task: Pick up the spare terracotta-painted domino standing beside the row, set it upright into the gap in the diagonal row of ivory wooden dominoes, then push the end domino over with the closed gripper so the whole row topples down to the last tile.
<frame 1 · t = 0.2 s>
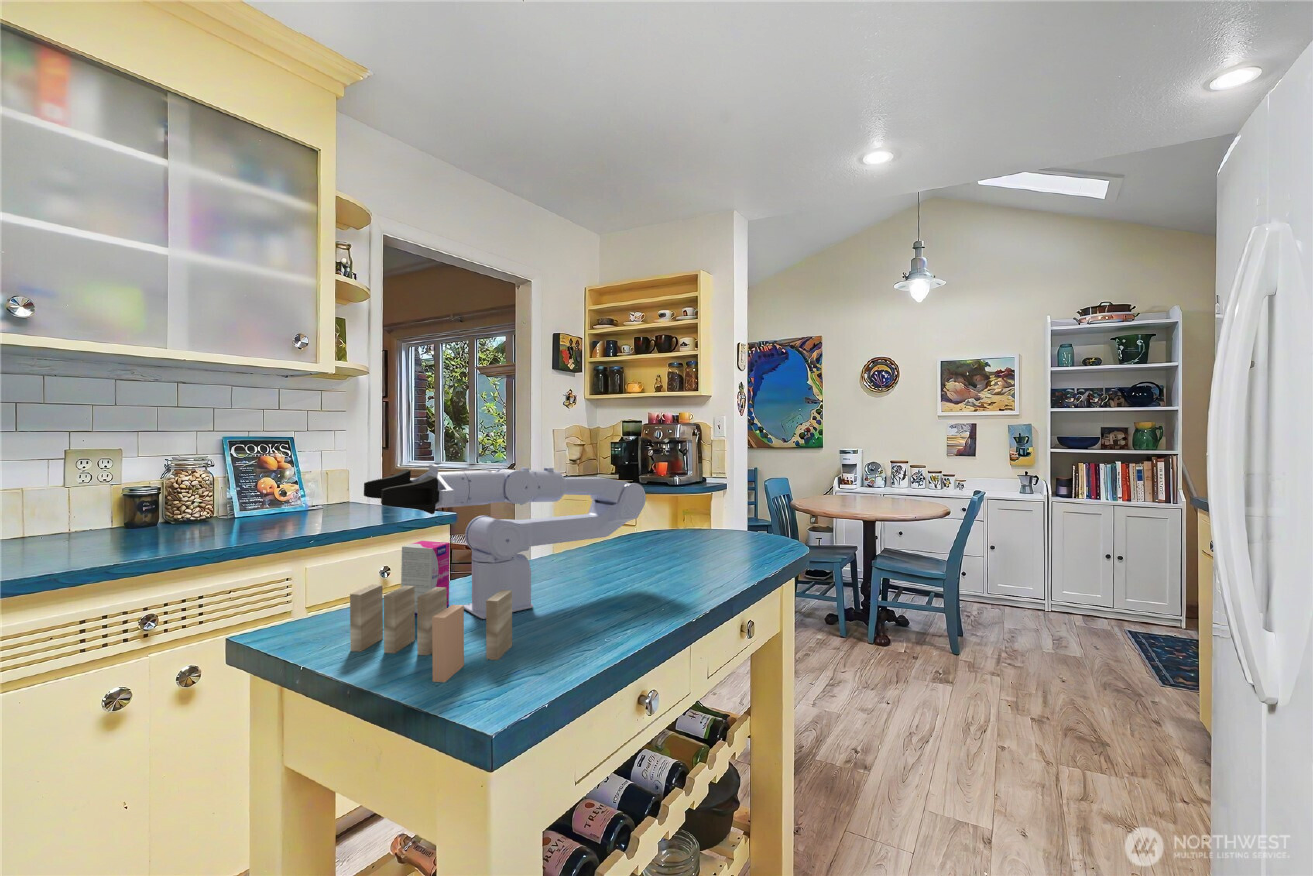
hand: (372, 493, 86), 22 cm above the table, tool horizontal, fingers open, 7 cm apart
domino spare: (448, 673, 74), on the table
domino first: (367, 644, 84), on the table
domino 2: (432, 648, 82), on the table
domino 3: (399, 646, 83), on the table
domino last: (499, 652, 81), on the table
supplement box: (425, 612, 99), on the table
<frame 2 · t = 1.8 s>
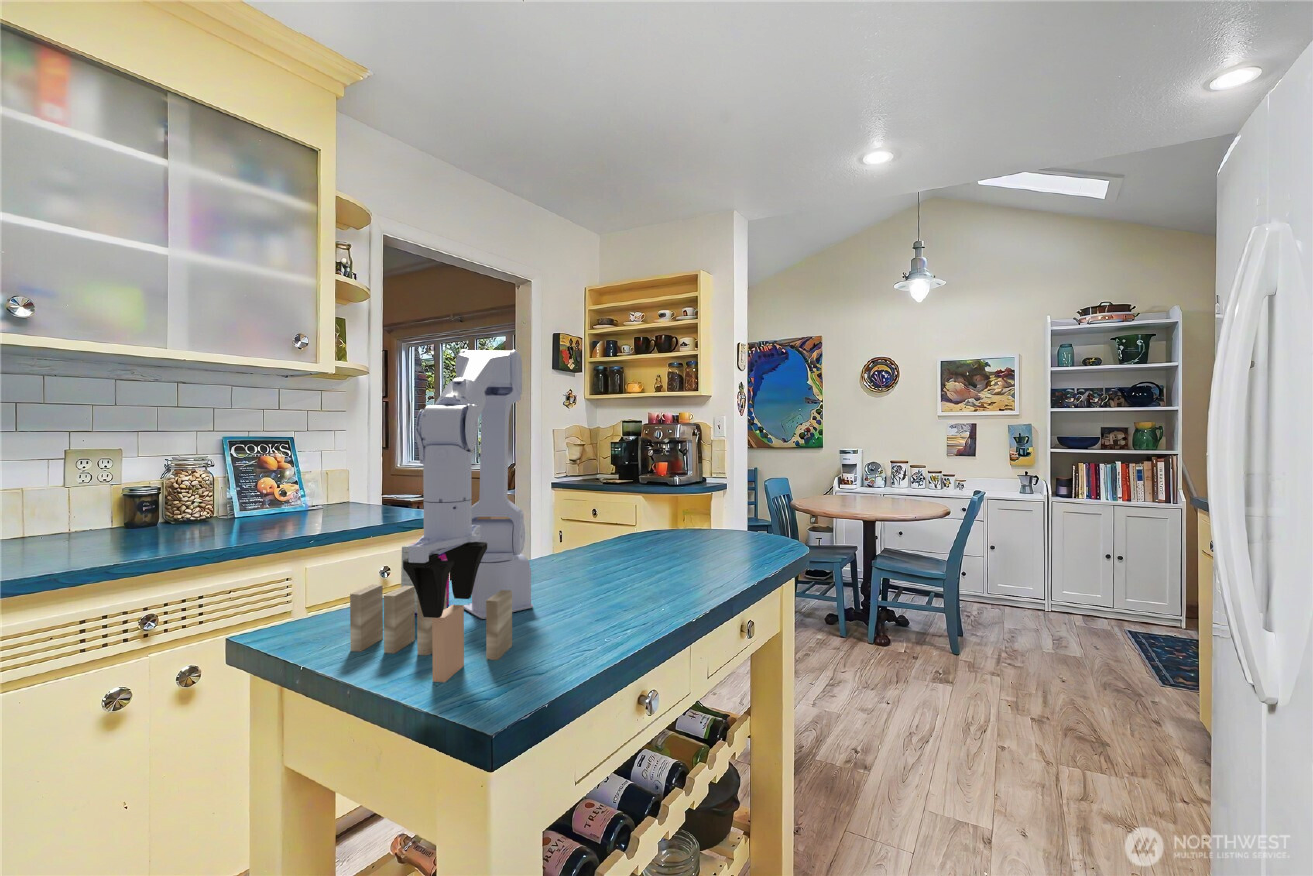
hand: (448, 607, 74), 8 cm above the table, tool pointing down, fingers open, 7 cm apart
nothing on the table moved.
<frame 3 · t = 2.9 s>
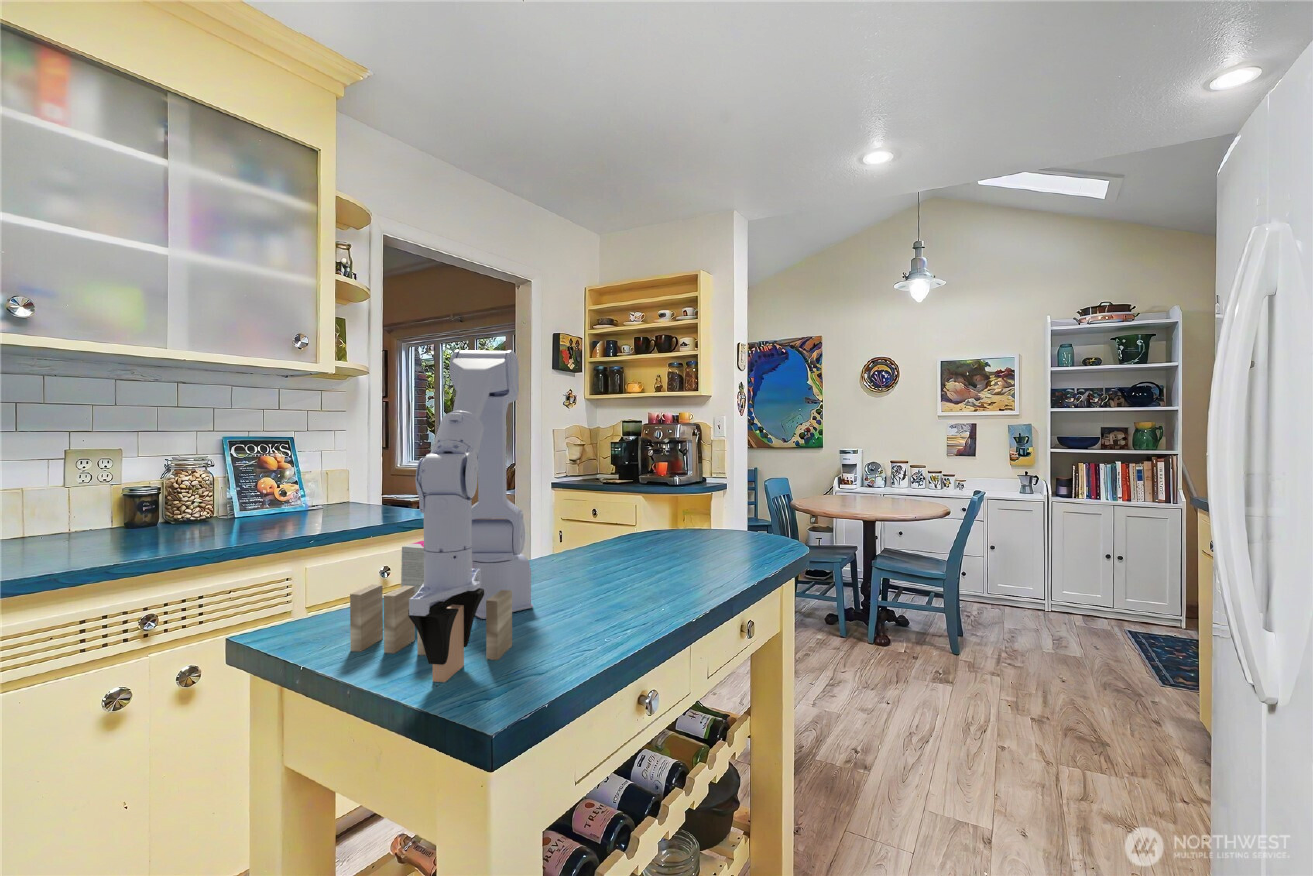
hand: (448, 654, 74), 2 cm above the table, tool pointing down, fingers closed on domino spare, 5 cm apart
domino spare: (448, 673, 74), on the table, touching gripper
everything else where it was.
when the fingers open (3 cm above the table, at t = 6.2 s): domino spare stays where it is, on the table.
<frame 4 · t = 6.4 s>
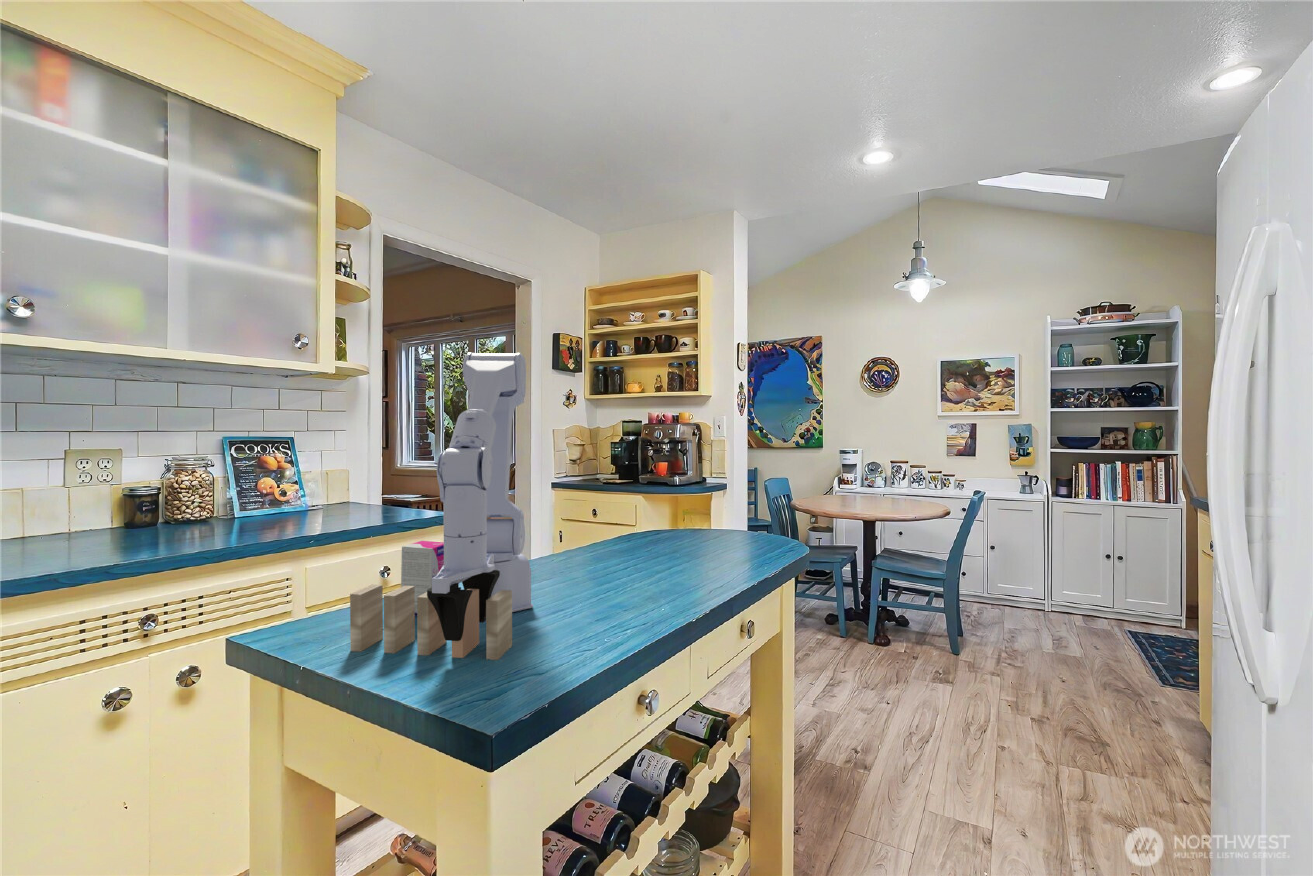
hand: (465, 630, 81), 3 cm above the table, tool pointing down, fingers open, 7 cm apart
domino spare: (465, 650, 81), on the table
everything else where it was.
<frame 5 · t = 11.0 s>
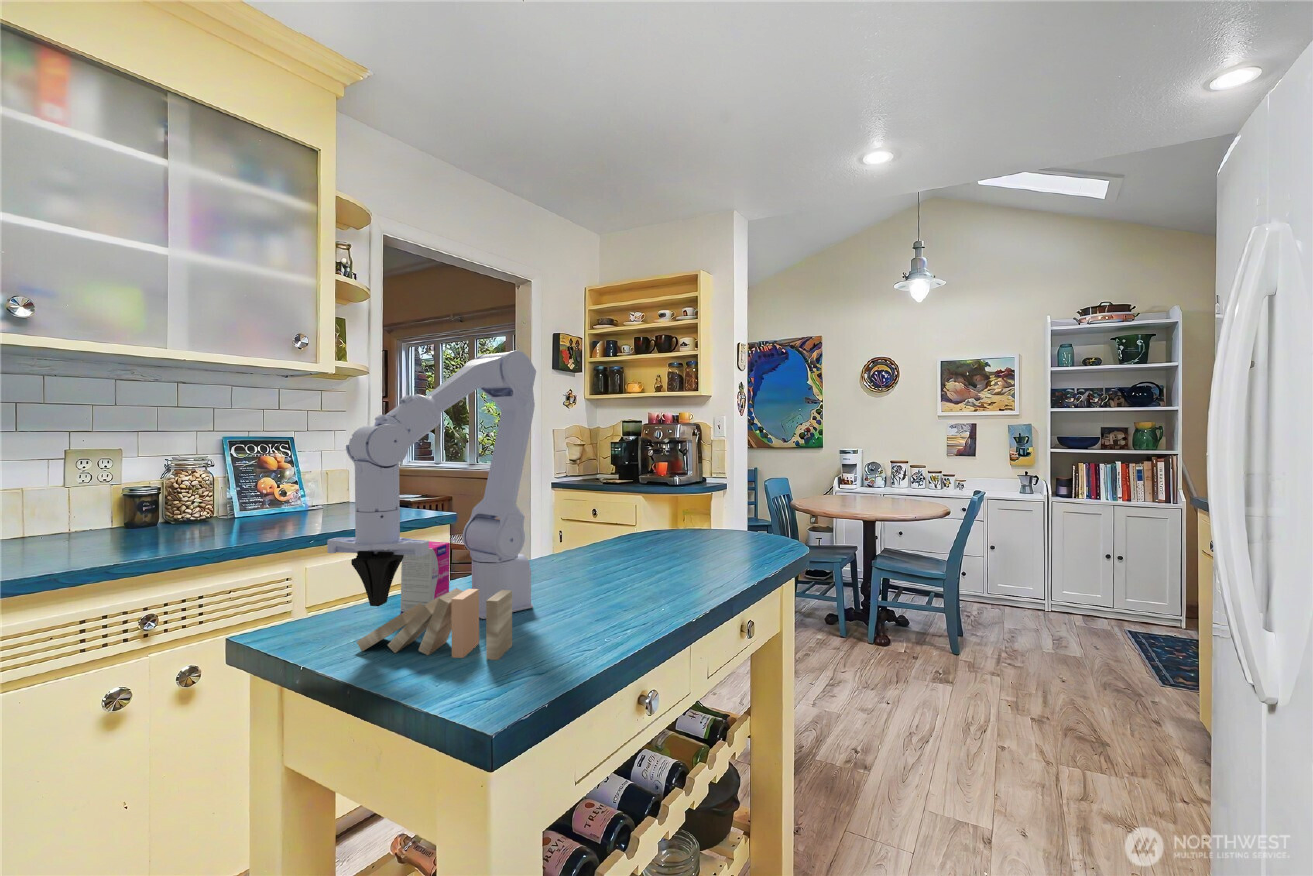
hand: (378, 604, 83), 6 cm above the table, tool pointing down, fingers closed
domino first: (370, 640, 83), point 1 cm above the table, tilted 58°, touching domino 3
domino 2: (432, 646, 82), on the table, tilted 22°
domino 3: (401, 642, 83), point 1 cm above the table, tilted 44°, touching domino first
everything else where it was.
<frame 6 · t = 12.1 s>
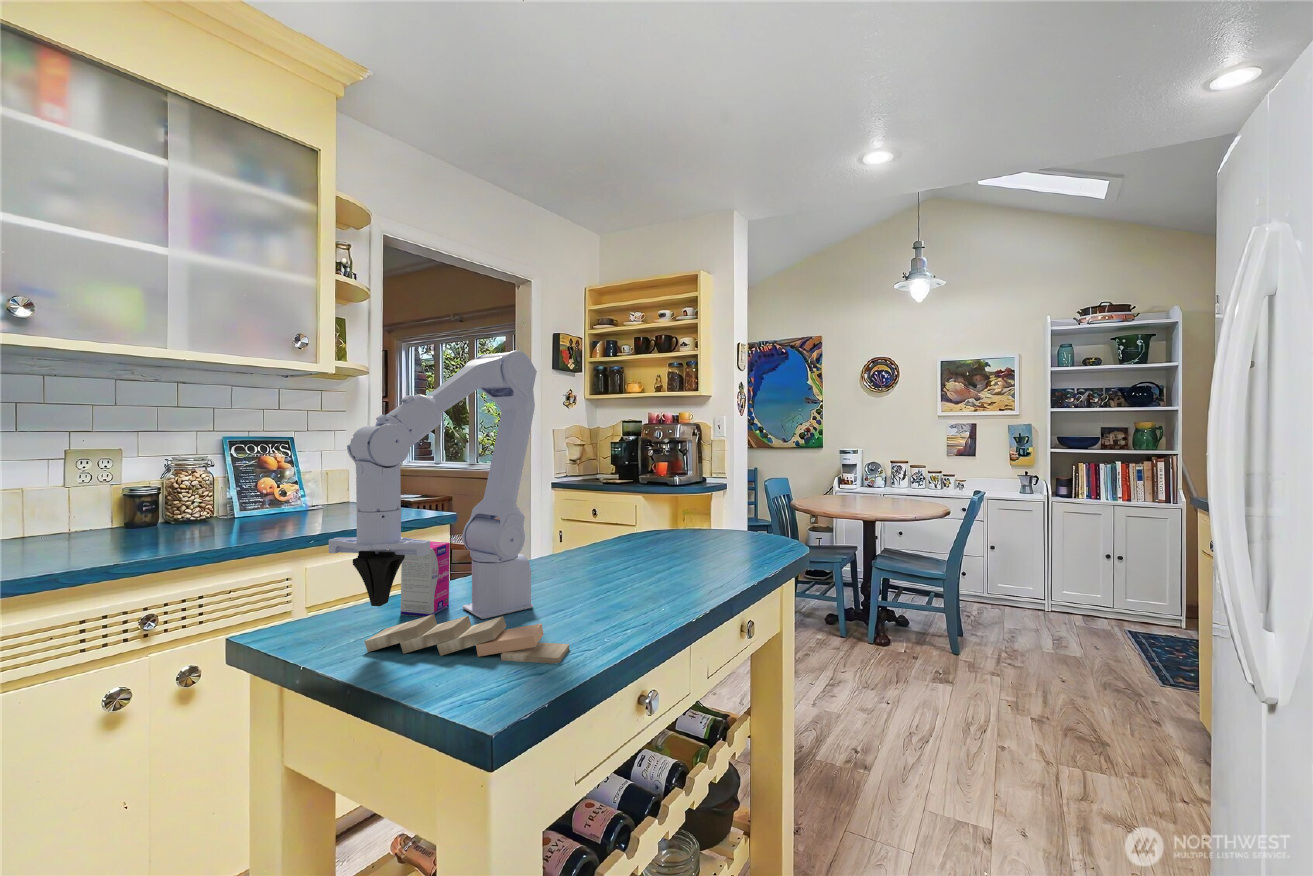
hand: (379, 604, 83), 6 cm above the table, tool pointing down, fingers closed
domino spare: (482, 644, 81), point 1 cm above the table, tilted 80°, touching domino 2, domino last
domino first: (376, 640, 83), point 1 cm above the table, tilted 72°, touching domino 3
domino 2: (446, 643, 82), point 1 cm above the table, tilted 71°, touching domino 3, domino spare
domino 3: (411, 641, 83), point 1 cm above the table, tilted 72°, touching domino 2, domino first
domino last: (508, 653, 81), on the table, tilted 90°, touching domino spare
everything else where it was.
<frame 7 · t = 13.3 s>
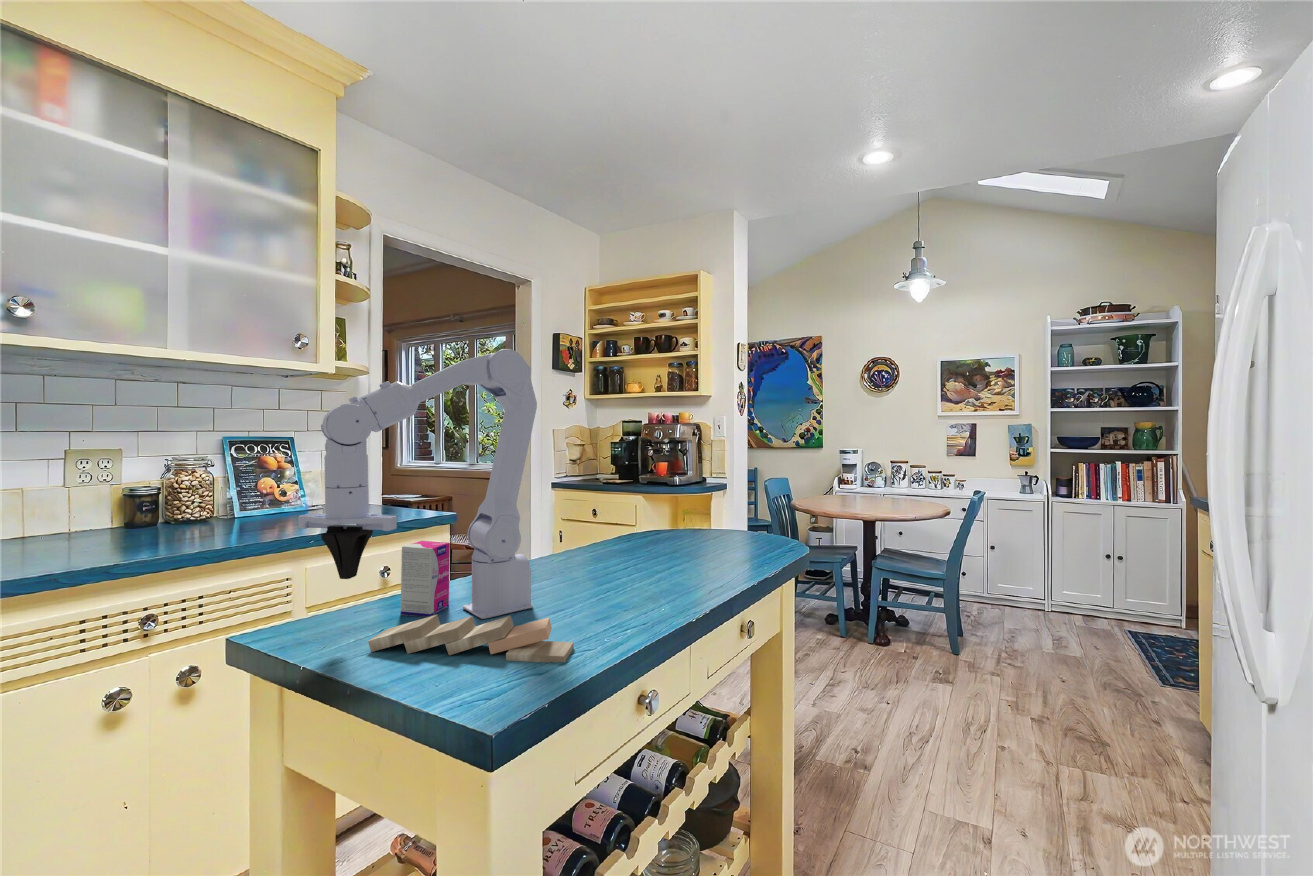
hand: (348, 577, 87), 9 cm above the table, tool pointing down, fingers closed
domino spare: (492, 642, 82), point 1 cm above the table, tilted 77°, touching domino 2, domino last
domino 2: (453, 643, 82), point 1 cm above the table, tilted 72°, touching domino 3, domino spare
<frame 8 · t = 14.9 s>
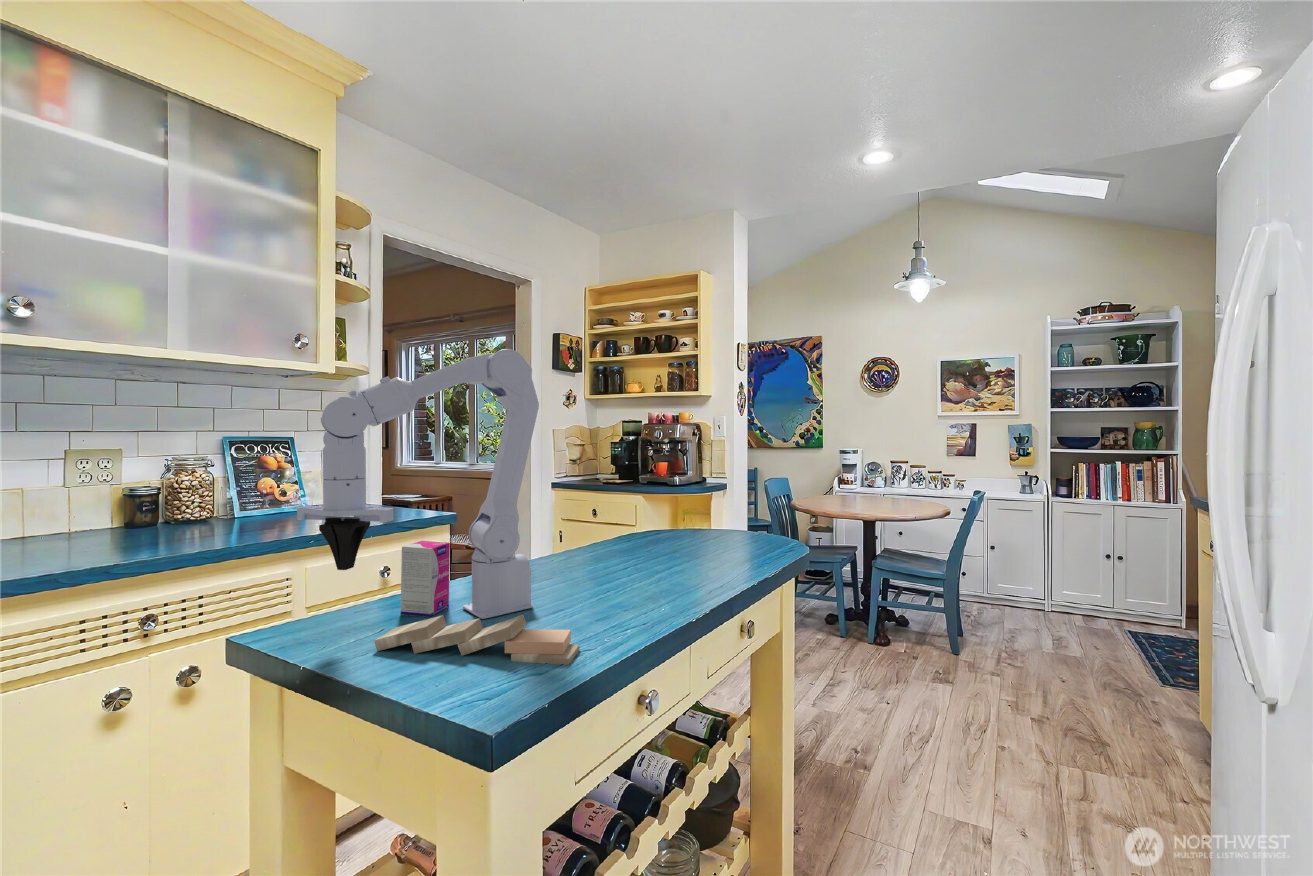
hand: (345, 568, 88), 10 cm above the table, tool pointing down, fingers closed
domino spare: (510, 640, 81), point 2 cm above the table, tilted 90°, touching domino 2, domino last
domino 2: (468, 643, 82), point 1 cm above the table, tilted 68°, touching domino 3, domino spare
at the end: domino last tilted 90°; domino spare tilted 90° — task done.
